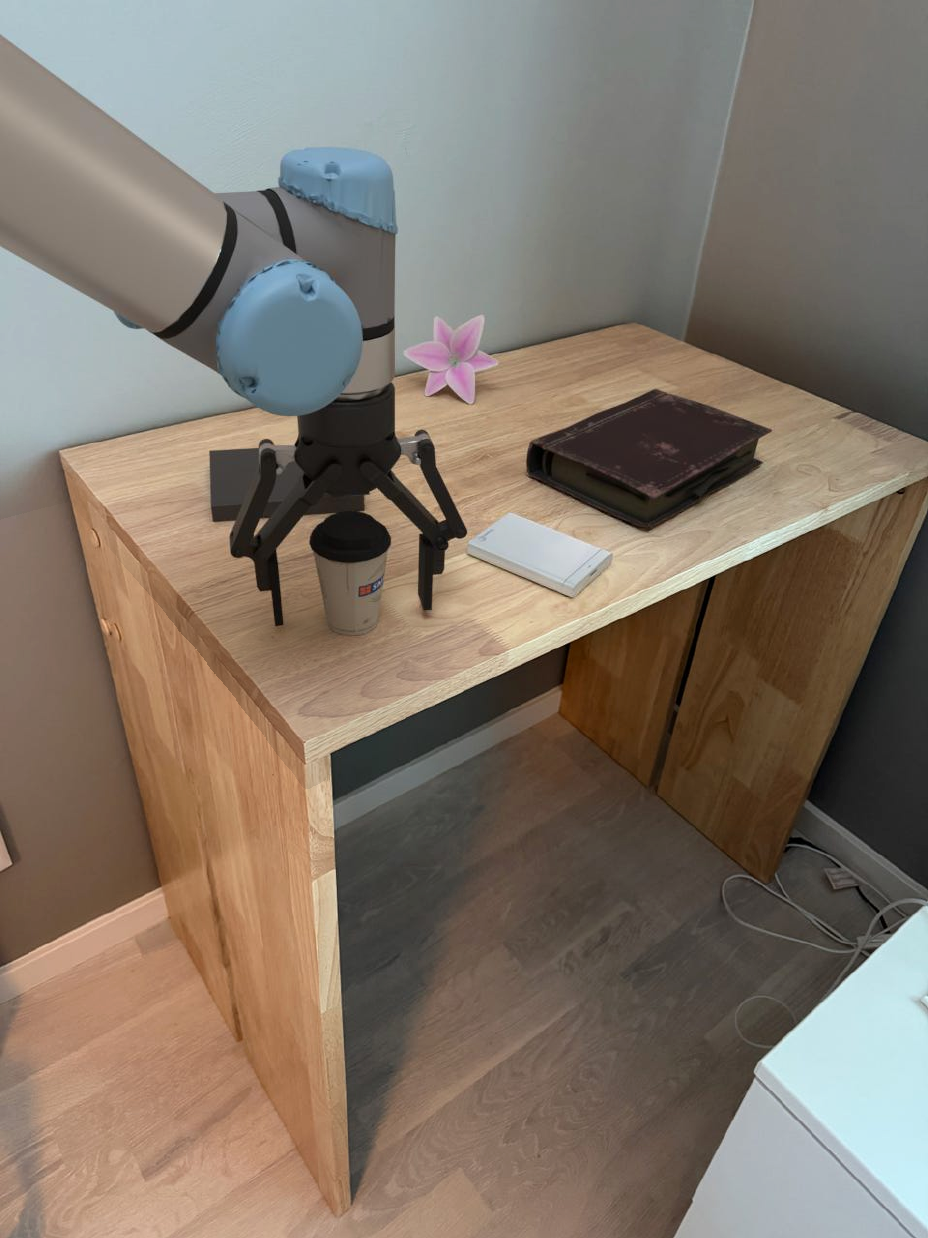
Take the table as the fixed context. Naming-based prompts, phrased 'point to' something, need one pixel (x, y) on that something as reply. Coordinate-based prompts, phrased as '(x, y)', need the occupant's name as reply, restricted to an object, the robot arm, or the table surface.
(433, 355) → the lily
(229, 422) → the table surface
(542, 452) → the diary
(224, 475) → the scale
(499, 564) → the hard drive
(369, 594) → the coffee cup
